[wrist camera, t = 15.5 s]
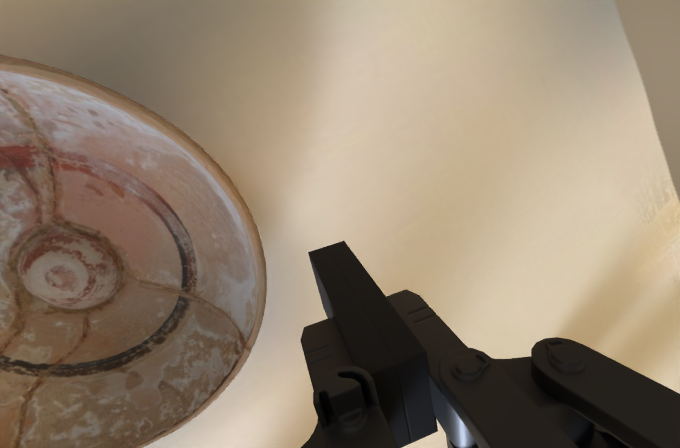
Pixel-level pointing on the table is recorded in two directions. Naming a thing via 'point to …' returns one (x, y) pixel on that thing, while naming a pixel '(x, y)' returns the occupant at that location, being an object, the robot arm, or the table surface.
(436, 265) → the table surface
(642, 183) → the table surface
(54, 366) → the ceramic bowl
